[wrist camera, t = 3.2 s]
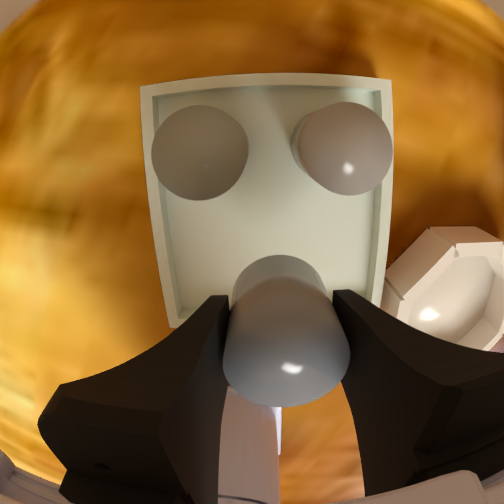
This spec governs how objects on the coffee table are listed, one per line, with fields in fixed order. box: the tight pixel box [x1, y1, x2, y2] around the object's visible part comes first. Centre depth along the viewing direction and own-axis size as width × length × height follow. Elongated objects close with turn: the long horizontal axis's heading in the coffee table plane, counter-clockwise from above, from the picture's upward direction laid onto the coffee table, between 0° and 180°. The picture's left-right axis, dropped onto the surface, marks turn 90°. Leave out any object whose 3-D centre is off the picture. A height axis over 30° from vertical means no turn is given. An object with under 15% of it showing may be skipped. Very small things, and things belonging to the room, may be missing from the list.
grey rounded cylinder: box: [223, 255, 350, 407], centre depth 10 cm, size 4×4×4 cm
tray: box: [140, 73, 393, 328], centre depth 15 cm, size 13×12×2 cm
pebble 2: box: [291, 102, 393, 196], centre depth 13 cm, size 4×4×4 cm
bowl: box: [380, 226, 504, 351], centre depth 17 cm, size 10×10×3 cm
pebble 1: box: [151, 105, 249, 201], centre depth 13 cm, size 4×4×4 cm
